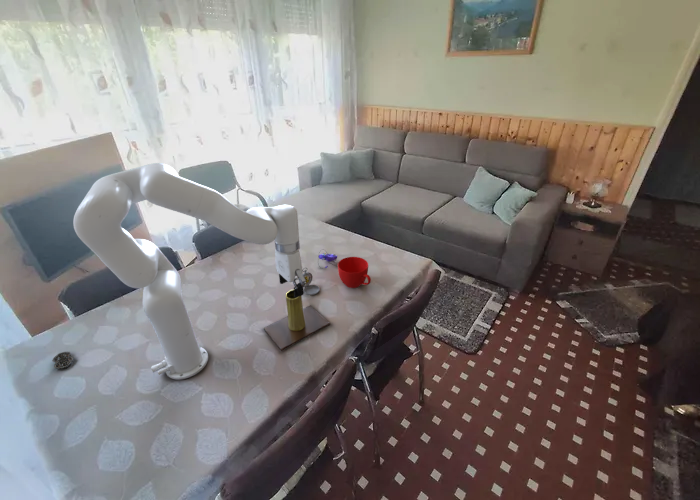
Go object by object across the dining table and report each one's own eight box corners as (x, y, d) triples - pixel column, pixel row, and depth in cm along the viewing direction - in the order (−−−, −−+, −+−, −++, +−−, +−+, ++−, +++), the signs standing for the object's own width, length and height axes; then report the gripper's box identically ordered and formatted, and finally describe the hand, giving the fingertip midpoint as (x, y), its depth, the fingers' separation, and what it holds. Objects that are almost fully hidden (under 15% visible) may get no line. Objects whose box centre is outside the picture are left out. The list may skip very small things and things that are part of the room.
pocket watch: (317, 297, 133) (315, 277, 128) (297, 294, 135) (295, 274, 130) (322, 285, 140) (321, 266, 135) (304, 283, 141) (302, 264, 136)
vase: (307, 320, 120) (304, 289, 112) (303, 331, 114) (299, 300, 107) (290, 319, 120) (286, 288, 113) (286, 330, 115) (282, 299, 108)
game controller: (334, 249, 160) (342, 254, 151) (331, 264, 161) (339, 271, 153) (315, 247, 155) (322, 253, 147) (312, 263, 157) (319, 270, 148)
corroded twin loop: (70, 350, 108) (68, 348, 108) (76, 363, 104) (75, 361, 103) (51, 359, 105) (50, 357, 105) (57, 373, 101) (55, 370, 100)
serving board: (281, 351, 108) (281, 349, 108) (264, 329, 117) (263, 327, 116) (329, 324, 119) (329, 322, 118) (310, 307, 128) (310, 305, 127)
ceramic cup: (358, 301, 131) (358, 281, 125) (332, 282, 142) (331, 263, 137) (380, 288, 138) (381, 269, 133) (354, 272, 149) (354, 253, 144)
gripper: (263, 237, 104) (269, 281, 113) (290, 259, 93) (295, 306, 101) (284, 231, 108) (288, 273, 117) (312, 251, 97) (315, 297, 105)
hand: (291, 289), depth 109 cm, fingers open, 9 cm apart
